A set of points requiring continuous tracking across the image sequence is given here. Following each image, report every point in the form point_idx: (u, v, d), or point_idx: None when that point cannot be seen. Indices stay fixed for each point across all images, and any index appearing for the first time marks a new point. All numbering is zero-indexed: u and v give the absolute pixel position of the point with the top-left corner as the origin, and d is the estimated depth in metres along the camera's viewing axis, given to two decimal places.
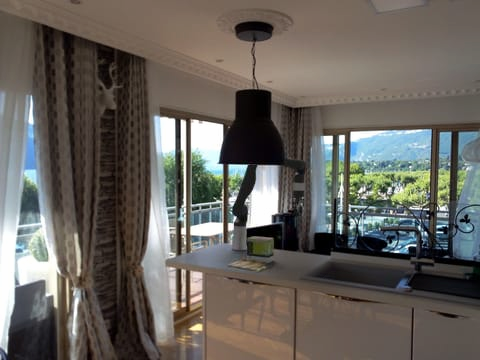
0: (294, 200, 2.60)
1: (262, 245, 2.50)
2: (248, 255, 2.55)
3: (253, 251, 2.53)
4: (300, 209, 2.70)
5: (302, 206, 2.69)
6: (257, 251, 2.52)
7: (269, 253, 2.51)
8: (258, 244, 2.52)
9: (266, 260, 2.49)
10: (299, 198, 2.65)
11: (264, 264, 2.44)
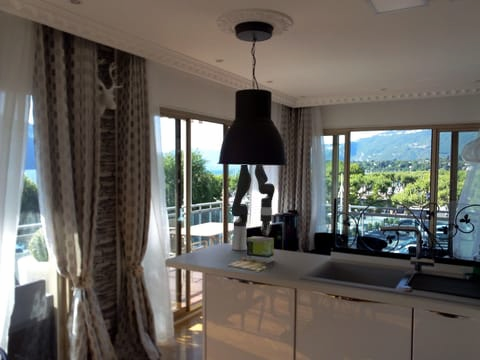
0: (262, 229, 2.57)
1: (262, 245, 2.50)
2: (248, 255, 2.55)
3: (253, 251, 2.53)
4: None
5: (268, 232, 2.62)
6: (257, 251, 2.52)
7: (269, 252, 2.51)
8: (258, 244, 2.52)
9: (266, 260, 2.49)
10: (267, 222, 2.60)
11: (264, 264, 2.44)
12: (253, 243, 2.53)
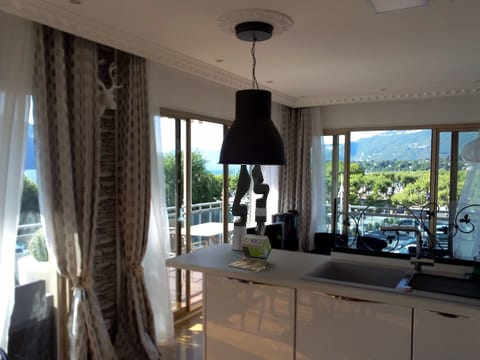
0: (256, 230, 2.50)
1: (258, 250, 2.45)
2: (247, 257, 2.53)
3: (250, 254, 2.50)
4: None
5: (262, 234, 2.56)
6: (254, 254, 2.49)
7: (267, 253, 2.48)
8: (254, 249, 2.46)
9: (265, 261, 2.48)
10: (261, 224, 2.54)
11: (264, 264, 2.44)
12: (248, 248, 2.47)
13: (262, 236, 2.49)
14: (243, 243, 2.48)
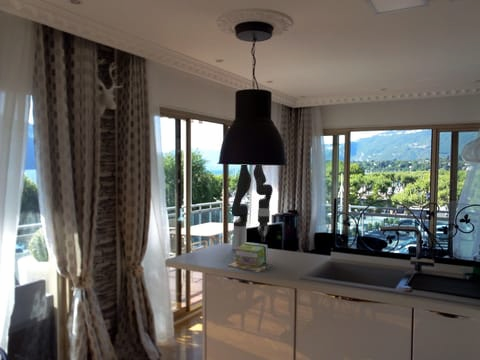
0: (259, 230, 2.55)
1: None
2: None
3: None
4: None
5: (265, 234, 2.60)
6: None
7: (263, 258, 2.43)
8: None
9: None
10: (264, 224, 2.59)
11: (264, 264, 2.44)
12: None
13: (252, 252, 2.37)
14: (238, 262, 2.43)
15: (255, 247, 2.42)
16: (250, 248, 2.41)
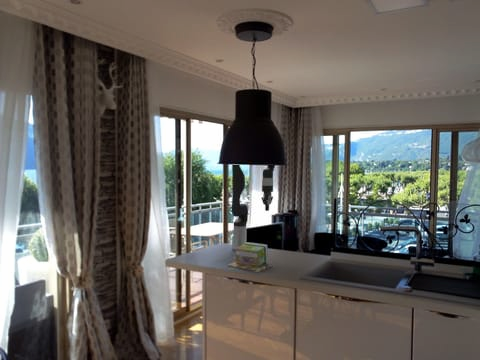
0: (263, 199, 2.62)
1: None
2: None
3: None
4: None
5: (269, 203, 2.67)
6: None
7: (263, 258, 2.43)
8: None
9: None
10: (268, 193, 2.65)
11: (264, 264, 2.44)
12: None
13: (252, 252, 2.37)
14: (238, 262, 2.43)
15: (255, 247, 2.42)
16: (250, 248, 2.41)
